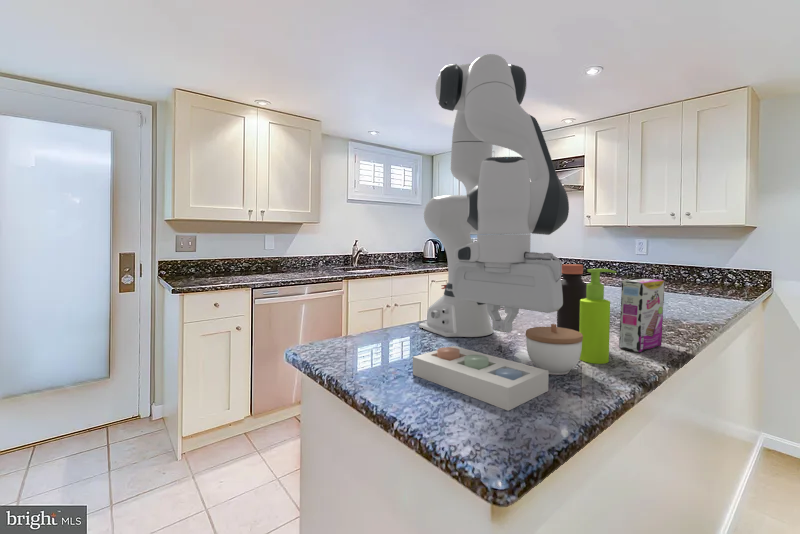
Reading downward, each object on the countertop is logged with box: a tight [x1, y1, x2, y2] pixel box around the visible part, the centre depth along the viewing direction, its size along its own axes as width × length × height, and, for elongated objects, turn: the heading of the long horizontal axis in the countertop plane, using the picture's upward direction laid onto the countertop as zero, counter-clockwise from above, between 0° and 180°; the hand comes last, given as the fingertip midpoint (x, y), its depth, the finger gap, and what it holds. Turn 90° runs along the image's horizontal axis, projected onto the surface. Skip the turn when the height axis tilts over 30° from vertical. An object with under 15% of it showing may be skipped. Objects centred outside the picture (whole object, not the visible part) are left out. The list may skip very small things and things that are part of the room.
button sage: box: [464, 355, 489, 370], centre depth 72 cm, size 4×4×3 cm
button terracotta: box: [436, 346, 460, 361], centre depth 78 cm, size 4×4×3 cm
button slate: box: [496, 368, 522, 380], centre depth 67 cm, size 4×4×3 cm
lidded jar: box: [525, 323, 583, 376], centre depth 79 cm, size 11×11×9 cm
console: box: [412, 345, 549, 412], centre depth 72 cm, size 22×12×4 cm, turn 40°
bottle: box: [556, 263, 587, 332], centre depth 98 cm, size 7×7×20 cm
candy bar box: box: [618, 278, 666, 353], centre depth 94 cm, size 11×5×16 cm, turn 123°
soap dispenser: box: [579, 267, 618, 365], centre depth 84 cm, size 6×7×20 cm
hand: (502, 330), depth 68 cm, fingers closed
